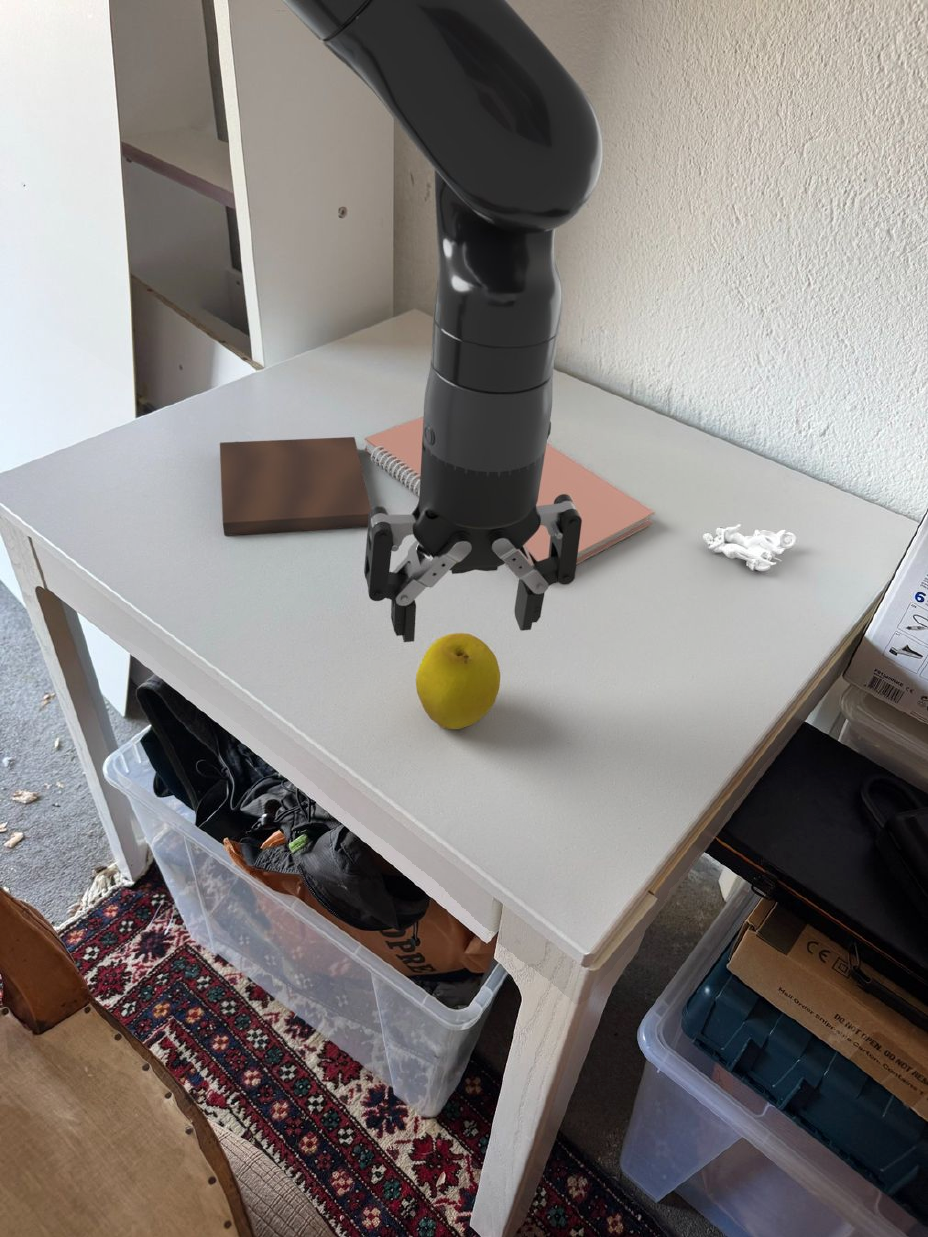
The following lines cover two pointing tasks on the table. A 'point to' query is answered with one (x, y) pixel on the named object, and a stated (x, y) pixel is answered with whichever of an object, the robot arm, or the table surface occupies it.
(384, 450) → the notebook
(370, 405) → the table surface
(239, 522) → the cutting board
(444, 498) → the robot arm
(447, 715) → the apple
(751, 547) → the figurine
